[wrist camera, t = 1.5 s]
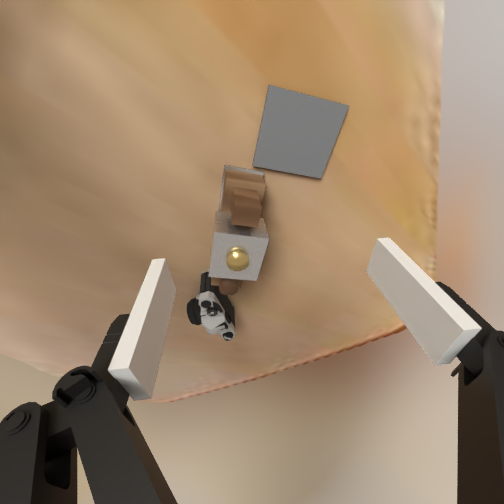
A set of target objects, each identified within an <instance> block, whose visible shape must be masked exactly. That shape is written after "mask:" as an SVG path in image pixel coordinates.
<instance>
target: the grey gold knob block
mask: <svg viewBox="0 0 504 504" xmlns="http://www.w3.org/2000/svg"><path fill="white" fill-rule="evenodd" d="M268 241H269V236H268V232H267V229H266V225H265V222H264V218H260V220H259V224H258V228H257V227H249V226H241V225H234V224H231V214H229V213H222V212H216V213H215V221H214V228H213V236H212V244H211V252H210V264H209V277H215V278H227V279H239V280H251V281H257V278H258V275H259V271H260V268H261V265H262V261H263V258H264V255H265V251H266V248H267V245H268Z"/></svg>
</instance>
